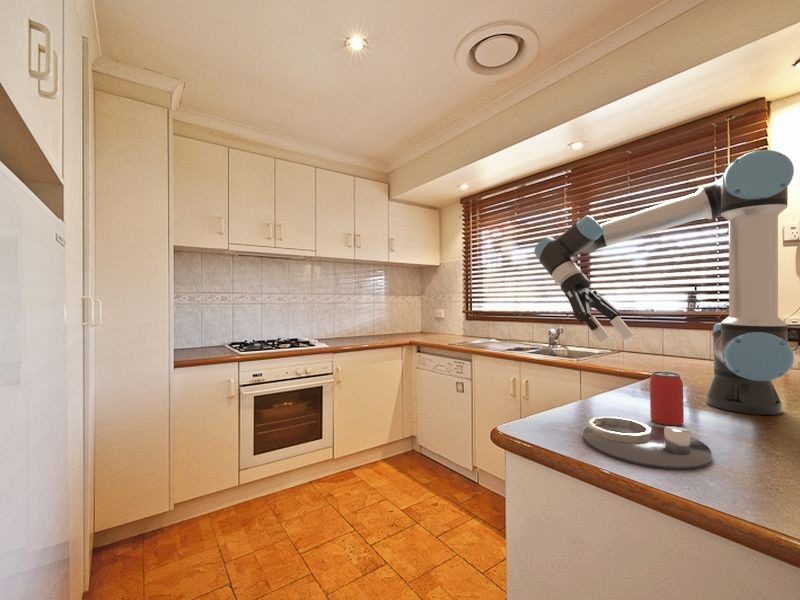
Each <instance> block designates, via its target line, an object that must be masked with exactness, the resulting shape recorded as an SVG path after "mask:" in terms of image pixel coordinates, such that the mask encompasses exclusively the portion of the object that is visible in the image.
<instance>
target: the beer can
mask: <svg viewBox="0 0 800 600" xmlns="http://www.w3.org/2000/svg"><path fill="white" fill-rule="evenodd" d="M649 400H650V401H649V402H650V405H649V406H650V419H651V421H653V422H654V423H656V422H657V424H659V423H660V424H659V425H662V424H664V425H663V426H667V425H672V427H680V426H682V425H684V422H685V419H684V417H685V415H684V410H685V409H684V383H683V380H682V379H681V375H680V374H679V373H677V372H671V371H654V372H652V373H651V376H650V378H649ZM673 425H674V426H673Z"/></svg>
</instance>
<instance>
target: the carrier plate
mask: <svg viewBox="0 0 800 600" xmlns="http://www.w3.org/2000/svg"><path fill="white" fill-rule="evenodd" d="M583 441H585V443H586V444H587V446H589V447H590V448H591V449H593V450H595V451H596V452H599V453H601V454H603V455H605V456H607V457H609V458H613V459H615V460H618V461H620V462H624V463H627V464H628V463H629V464H632V465H635V466H636V465H637V466H639V467H647V468H650V469H651V468H652V469H658V470H671V471H691V470H698V469H702V468H705V467H707V466H709V465H710V464H711V463H712V461H713V455H712V453H713V452H712V450H711V449H710V447H709V446H708V445H707V444H705V443H704V442H702V441H701V440H699V439H697V438H695V437H693V436H691V431H690V430H688V429H686V428H683V427H680V426H664V427H662V426H661V427H660V426H655V425H652V424H646V423H643V422H640V421H636V420H633V419H630V418H626V417H625V418H623V417H618V416H598V417H593V418H591V419H590V420H589V421H588V426H586V427H585V428H584V430H583Z"/></svg>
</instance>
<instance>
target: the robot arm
mask: <svg viewBox="0 0 800 600" xmlns="http://www.w3.org/2000/svg"><path fill="white" fill-rule="evenodd" d="M794 169H795V167H794V164H793V162H792V160H791V159H790V158H789V157H788V156H787V155H785V154H783V153H782V152H779V151H776V150H773V149H772V150H770V149H761V150H760V149H759V150H753V151H751V152H747V153H745V154H743V155H741V156H739V157H737V158H736V159H735V160H733V161H732V162H731V163H730V164H728V166H727V167H726V168H725V170H724V172H723V175H722V176H721V178H719V179H717V180H715V181H714V182H711V183H709V184H707V185H704V186H701V187H699V188H698V189H697V191H696V192H695V193H694V192H693V193H691V194H688V195H685V196H681V197H678V198H675V199H673V200H670V201H666V202H663V203H660V204H658V205H654V206H651V207H649V208H645V209H642V210H640V211H636V212H634V213H630V214H627V215H623V216H621V217H618V218H615V219H611V220H609V221H606V222H604V223H601V224H599V222H597V221H596V220H595V219H594V217H592V216H591V215H585V216H584V217H582V218H581V219H579V220H576V221H577V222H575V223H574V224H572V226H571V227H569V228H568V229H567V230H566V231H565V232H563V233H561V235H560V236H559V237H556V239H554V237H551V236H550V237H546V238H544V239H541V241H539V242H538V243H537V244H536V245H535V248H534V251H533V253H534V255H535V256H536V258H537V259H538V261H539V263H540V264H541V265H542V266H543V267H544V269H545V270H546V272H548V274H549V275H550V276H551V278H552V279H553V280H554V283H555V284H557V285H558V286H559V287H560V289H561V291H562V292H563V293H564V294H565V297H566V298H567V299H568V302H569V304H570V306H571V309H572V311H573V314H574V316H575V318H576V319H577V321H578V322H579V323H581V324H583V323H585V325H586V326H587V327H588V329H589V330H590V331H591V333H592V334H593V335H594V336H595V338H596V339H597V340H598V341H599V342H600V343H602V342H604V341H605V340H607V339H609V338H610V334H609V333H608V331H606V329H605V328H604V327H603V325H602V324H601V323H600V322H599V320H597V317H595V316H594V315H592V312H591V309H595V310H596V311H598V312H599V313H600V314H602V315H603V316H604V317H606V318H607V319H609V320H610V321H609V322H610V324H611V325H612V327H614V328H615V330H616V331H617V332H618V333H619V335H620V337H622V339H623V340H625V341H627V340H628V339H629V338H631V337H633V336H634V335H635V333H633V331H632V330H631V329H630V327H629V326H628V325H627V324H626V323H625V322H624V320H623V319H622V318H621V315H622V312H621V311H619V310H618V309H617V308H615V307H614V306H613V305H612V304H611V303H610V302H608V300H606V298H604V297H603V296H601V294H600V293H599V292H598V291H597V290H595V289H594V290H593V291H592V290H590V289H589V287H590V283H591V282H590V280H589V279H588V278H587V276H586V275H585V274H584V273H583V272H582V270H581V269H580V268H579V267H578V265H577V264H576V263H575V262H574V261H573V260H572V258H573V257H575V256H576V255H578V254H579V253H583V254H590V253H591V254H592V253H593V252H596V251H597V250H600V249H603V248H605V247H608V246H611V245H615V244H619V243H623V242H625V241H629V240H634V239H635V238H639V237H643V236H645V235H650V234H654V233H656V232H657V233H658V232H660V231H663V230H664V231H665V230H666V229H669V228H670V229H671V228H673V227H678V226H680V225H683V224H687V223H690V222H694V221H697V220H701V219H707V220H709V221H710V220H713V219H716V218H720V217H723V218H724V219H725V220H727V221H728V293H729V294H728V307H729V308H728V316H727V317H726V318H724V319H723V320H722V321H721V322H719V323H715V324H714V325H713V328H712V333H711V335H712V337H713V338H712V343H713V344H712V345H713V346H712V347H713V350H712V351H713V378H712V381H710V385H709V387H708V390H707V393H706V397H705V399H706V401H705V402H706V403H707V404H708V405H710V406H712V407H715V408H718V409H721V410H726V411H729V412H730V411H731V412H736V413H741V414H749V415H750V414H751V415H759V416H760V415H761V416H763V415H764V416H775V415H780V414H782V413H783V403H782V401H781V399H780V397H779V394H778V392H777V390H776V388H775V386H774V383H773V380H776V379H779V378H781V377H783V376H785V375H786V374H787V373H788V372H789V371H790V370H791V369H792V366H793V365H794V362H795V361H794V360H795V358H794V357H795V356H794V352H793V349H792V348H791V346H790V344H789V343H788V340H789V339H788V323H786V321H784V320H782V319H781V318H780V317H779V215H780V214H781V213H782V212H784V211H785V210H786V209H787V208H788V200H789V199H788V198H789V197H788V196H789V195H788V193H789V192H788V186H789V185H790V184H791V183H792V180H793V177H794V173H795V172H794V171H795V170H794Z"/></svg>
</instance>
